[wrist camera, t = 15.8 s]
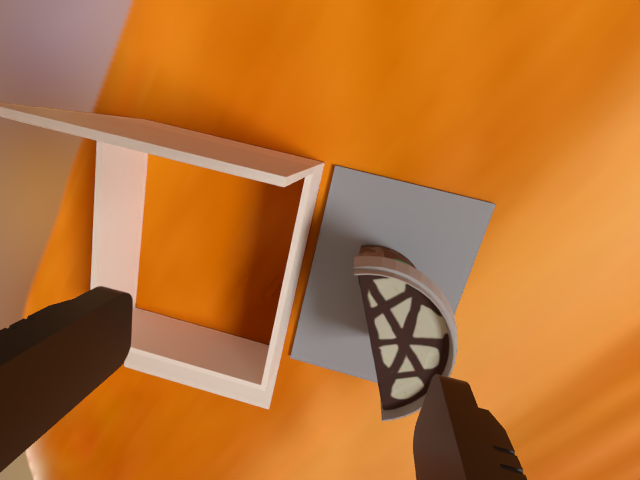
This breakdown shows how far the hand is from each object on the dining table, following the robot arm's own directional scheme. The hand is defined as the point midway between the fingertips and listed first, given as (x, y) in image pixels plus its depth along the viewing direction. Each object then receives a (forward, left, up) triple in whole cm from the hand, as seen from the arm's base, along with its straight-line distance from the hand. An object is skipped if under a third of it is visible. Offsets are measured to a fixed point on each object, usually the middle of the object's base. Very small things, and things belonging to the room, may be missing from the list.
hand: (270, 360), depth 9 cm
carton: (+11, +10, -24) cm, 28 cm away
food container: (-7, +6, -24) cm, 26 cm away
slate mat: (-6, +7, -24) cm, 26 cm away
